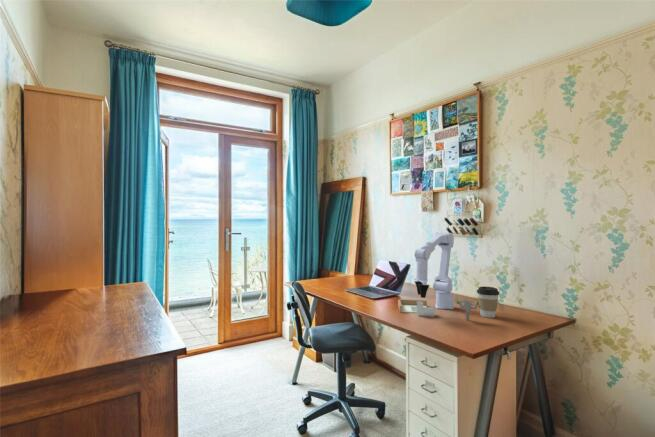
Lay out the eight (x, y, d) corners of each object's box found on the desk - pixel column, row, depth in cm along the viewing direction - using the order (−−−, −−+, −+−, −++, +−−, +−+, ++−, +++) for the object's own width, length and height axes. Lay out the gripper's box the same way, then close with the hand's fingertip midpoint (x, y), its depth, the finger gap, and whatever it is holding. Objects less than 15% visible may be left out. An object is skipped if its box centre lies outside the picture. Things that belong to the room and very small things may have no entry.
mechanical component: (478, 321, 175) (478, 302, 175) (457, 320, 177) (457, 301, 177) (477, 320, 178) (477, 300, 177) (456, 318, 180) (456, 299, 180)
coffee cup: (476, 312, 193) (477, 285, 193) (499, 314, 188) (499, 287, 188) (475, 317, 183) (476, 289, 182) (499, 320, 178) (499, 291, 177)
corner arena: (426, 306, 205) (426, 300, 205) (430, 313, 189) (430, 307, 189) (397, 304, 207) (397, 299, 207) (399, 312, 191) (399, 305, 191)
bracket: (433, 314, 187) (433, 301, 187) (434, 316, 183) (434, 303, 183) (416, 314, 188) (416, 301, 188) (417, 316, 184) (417, 303, 184)
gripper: (411, 268, 193) (411, 293, 193) (417, 272, 179) (416, 298, 179) (424, 269, 193) (424, 293, 193) (431, 273, 178) (430, 299, 178)
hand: (421, 296), depth 186 cm, fingers open, 7 cm apart
